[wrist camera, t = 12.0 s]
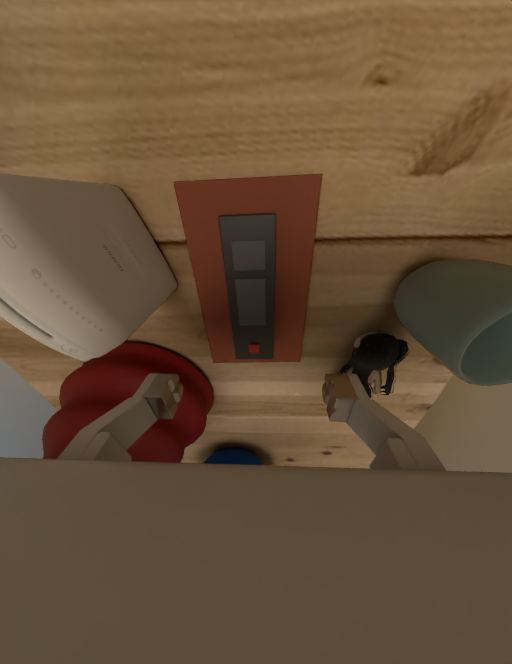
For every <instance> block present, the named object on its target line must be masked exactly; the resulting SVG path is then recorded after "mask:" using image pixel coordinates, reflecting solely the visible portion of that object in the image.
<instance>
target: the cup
mask: <svg viewBox="0 0 512 664" xmlns="http://www.w3.org/2000/svg"><path fill="white" fill-rule="evenodd" d="M394 309H395V312H396V315H397V317H398V319H399V321H400V322H401V324H402V325H403V326H404V328H405V329H406V330H407V331H408V332H409V333H410V334H411V335H412V336H413V337H414V338H415V339H416V340H417V341H418V342H419V343H420V344H421V345H422V346H423V347H424V348H425V349H426V350H427V351H428V352H429V353H431V354H432V355H433V356H434V357H435V358H436V359H437V360H438V361H439V362H441V363H442V364H443V365H444V366H445V367H446V368H447V369H449V370H450V371H451V372H452V373H453V374H455V375H456V376H457V377H459V378H460V379H462V380H463V381H465V382H468V383H470V384H475V385H481V386H492V385H502V384H507V383H512V266H510V265H505V264H501V263H496V262H490V261H484V260H478V259H462V258H452V259H444V260H438V261H435V262H432V263H429V264H426V265H424V266H421V267H419V268H417V269H416V270H414V271H413V272H411V273H410V274H409V275H407V276H406V277H405V278H404V279H403V280H402V281H401V283H400V284H399V286H398V287H397V290H396V292H395V296H394Z"/></svg>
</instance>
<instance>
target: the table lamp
mask: <svg viewBox="0 0 512 664" xmlns="http://www.w3.org/2000/svg"><path fill="white" fill-rule="evenodd" d="M150 373H167V374H178V375H179V378H180V379H179V382H180V383H182V385H183V396H182V398H181V401H179V402H178V403H177V407H178V408H177V410H176V412H175V415H174V417H173V419H157V421H156V422H155V423H154V424H153V425H152V426H151V427H150V428H148V429H147V430H146V431H145V432H144V433H143V434H142V435H141V436H140V437H139V438H138V439H137V440H136V441H135V442H134V443H133V444H132V445H131V446H130V447H129V448H128V449H127V450H126V451H127V452H128V453H129V454H130V455H131V457H132V460H131V461H136V462H169V463H180V462H181V459H182V457H183V454H184V449H185V447H187V446H189V445H190V444H192V443H193V442H195V441H196V440H197V439H198V438H199V437H200V436H201V435H202V433H203V431H204V429H205V426H206V419H207V416H206V415H207V414H208V413H209V411H210V409H211V407H212V405H213V393H212V389H211V387H210V385H209V383H208V381H207V380H206V379H205V377H204V376H203V375H202V373H201V372H200V371H199V370H198V369H197V368H196V367H195V366H193V365H192V364H191V363H190V362H188V361H186V360H185V359H183V358H182V357H180V356H178V355H175V354H173V353H171V352H169V351H166V350H163V349H160V348H157V347H154V346H151V345H146V344H141V343H122V344H121V345H119V346H118V347H116V348H115V349H113V350H111V351H110V352H108V353H106V354H105V355H103V356H101V357H99V358H92V359H90V360H88V361H86V362H84V363H83V366H82V367H80V368H78V369H77V370H75V371H74V372H73V373H71V374H70V375H69V376H68V377H66V379H65V380H64V382H63V383H62V385H61V389H60V396H59V398H60V404H61V409H60V410H59V411H58V412H57V413H55V414H54V415H53V416H52V417H51V418H50V420H49V421H48V422H47V424H46V425H45V427H44V431H43V438H42V440H43V450H44V457H43V459H57V458H58V457H59V456H60V454H61V453H62V452H63V451H64V450H65V448H66V447H67V446H68V445H69V443H70V442H71V441H72V440H73V439H74V437H75V436H76V435H77V434H78V432H79V431H80V430H81V429H83V428H84V427H86V426H87V425H89V424H90V423H92V422H93V421H95V420H96V419H98V418H99V417H101V416H102V415H104V414H105V413H107V412H108V411H110V410H111V409H113V408H114V407H116V406H117V405H119V404H120V403H122V402H124V401H125V400H127V399H128V398H130V397H133V396H134V394H135V393H136V391H137V390H138V388H139V387H140V386H141V384H142V383H143V381H144V380H145V378H146V377H147V375H149V374H150Z"/></svg>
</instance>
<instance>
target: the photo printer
mask: <svg viewBox="0 0 512 664" xmlns="http://www.w3.org/2000/svg"><path fill="white" fill-rule="evenodd" d="M176 288H177V283H176V280H175V278H174V275H173V273H172V272H171V270H170V268H169V266H168V264H167V263H166V261H165V259H164V257H163V256H162V254H161V252H160V250H159V249H158V247H157V245H156V244H155V242H154V240H153V239H152V237H151V235H150V233H149V232H148V230H147V229H146V227H145V226H144V224H143V222H142V221H141V219H140V217H139V216H138V214H137V213H136V211H135V209H134V208H133V206H132V205H131V203H130V202H129V200H128V199H127V197H126V196H125V195H124V193H123V192H122V191H121V190H120V189H119V188H118V187H117V186H114V185H108V184H99V183H89V182H80V181H70V180H59V179H48V178H40V177H29V176H19V175H7V174H0V316H1V317H2V318H4V319H5V320H6V321H8V322H9V323H11V324H12V325H13V326H15V327H16V328H18V329H19V330H21V331H22V332H24V333H26V334H27V335H29V336H31V337H32V338H34V339H36V340H37V341H39V342H41V343H43V344H44V345H46V346H48V347H50V348H52V349H54V350H56V351H58V352H61V353H63V354H65V355H68V356H70V357H73V358H75V359H78V360H81V361H84V362H86V361H88V360H90V359H92V358H99V357H101V356H103V355H105V354H106V353H108V352H110V351H111V350H113V349H115V348H116V347H118V346H119V345H121V344H122V343H123V342H124V341H125V340H126V339H128V338H129V337H130V336H131V335H132V334H133V333H134V332H135V331H136V330H137V329H138V328H139V327H140V326H141V325H142V324H143V323H144V322H145V320H146V319H147V318H148V317H149V316H150V315H151V314H152V313H153V312H154V311H155V310H156V309H157V308H158V307H159V306H160V305H161V304H162V303H163V302H164V301H165V300H166V299H167V298H168V296H169V295H170V294H171V293H172V292H173V291H174V290H175V289H176Z"/></svg>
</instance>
